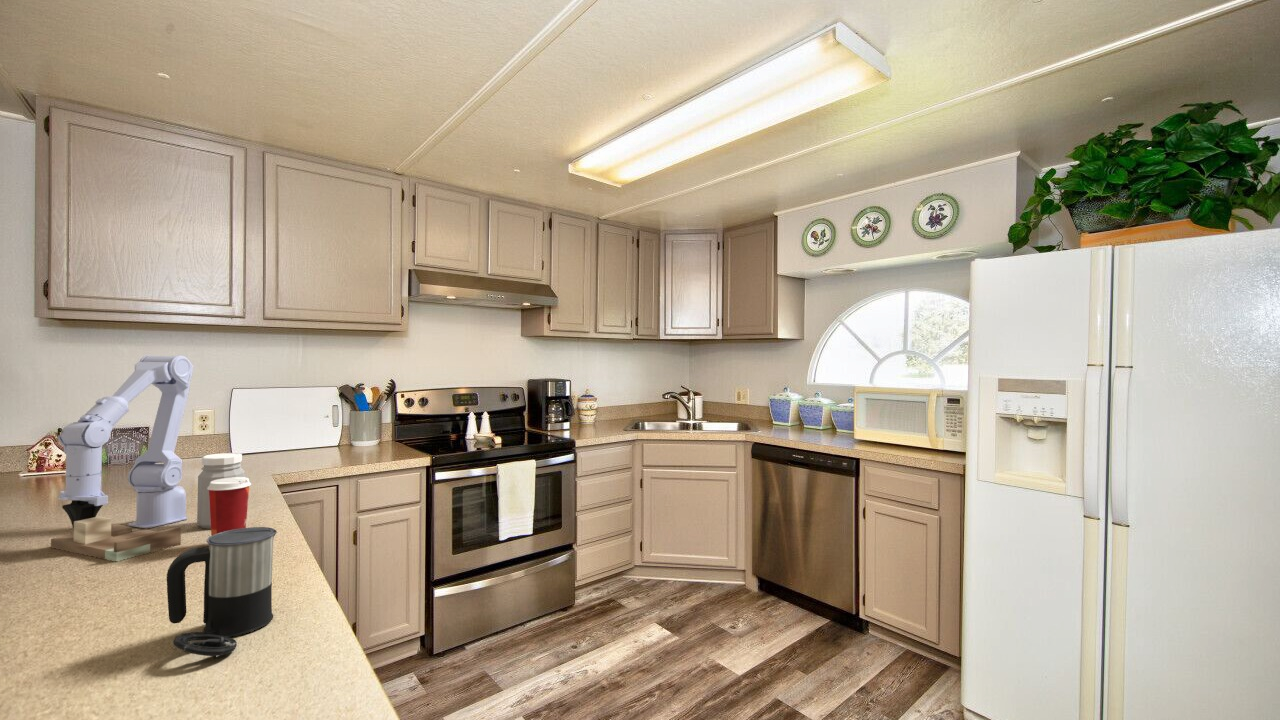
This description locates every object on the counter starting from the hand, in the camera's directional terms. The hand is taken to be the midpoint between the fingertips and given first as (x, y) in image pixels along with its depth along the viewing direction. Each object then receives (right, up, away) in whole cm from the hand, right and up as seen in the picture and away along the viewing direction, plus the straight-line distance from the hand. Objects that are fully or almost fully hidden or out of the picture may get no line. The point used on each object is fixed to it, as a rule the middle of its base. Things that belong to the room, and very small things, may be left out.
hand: (82, 533), depth 124 cm
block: (+4, -1, -1) cm, 4 cm away
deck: (+7, -3, +1) cm, 8 cm away
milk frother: (+63, -4, -39) cm, 75 cm away
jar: (+18, -4, +18) cm, 26 cm away
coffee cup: (+31, -4, +3) cm, 31 cm away
